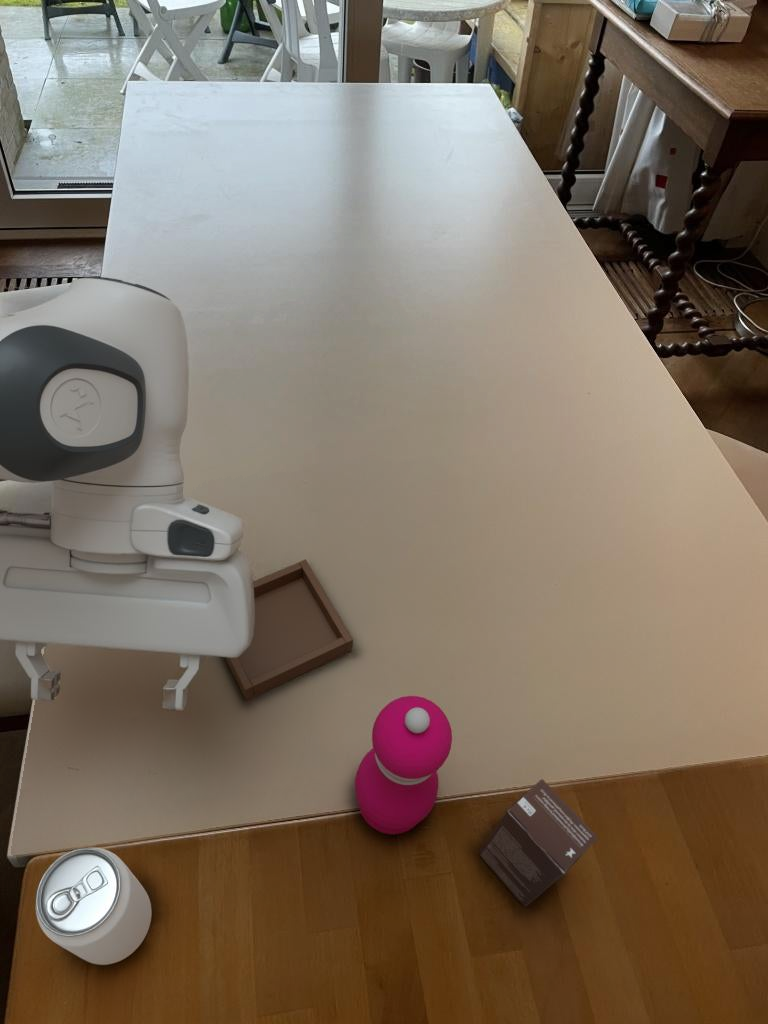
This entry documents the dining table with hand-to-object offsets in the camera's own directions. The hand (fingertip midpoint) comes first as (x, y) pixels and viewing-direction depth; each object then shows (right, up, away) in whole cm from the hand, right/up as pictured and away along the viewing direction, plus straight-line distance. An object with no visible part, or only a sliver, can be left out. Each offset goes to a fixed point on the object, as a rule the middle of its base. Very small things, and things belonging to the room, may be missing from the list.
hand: (110, 702), depth 58 cm
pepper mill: (+21, -12, +14) cm, 28 cm away
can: (-2, -19, +6) cm, 20 cm away
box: (+32, -17, +11) cm, 38 cm away
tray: (+9, +2, +22) cm, 24 cm away
